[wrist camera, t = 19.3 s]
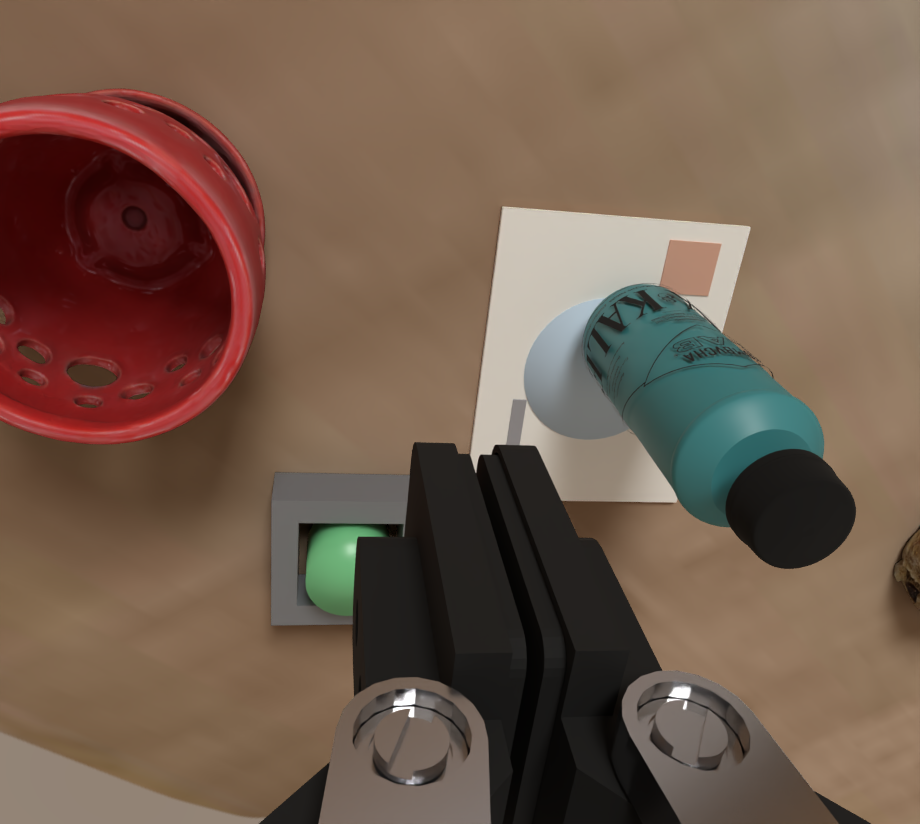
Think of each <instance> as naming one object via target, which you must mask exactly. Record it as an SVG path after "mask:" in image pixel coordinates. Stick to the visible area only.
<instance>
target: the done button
mask: <svg viewBox="0 0 920 824" xmlns="http://www.w3.org/2000/svg"><path fill="white" fill-rule="evenodd" d="M358 537H389V533H388V530H387V527H386V525H385V524H348V523H314V524H313V525H312V527H311V529H310V531H309V535H308V542H307V562H306V590H307V593H308V595H309V597H310V599H311V600H312V601H313V603H314V604H315V605H317V606H318V607H319V608H321V609H322V610H324V611H326V612H329V613H331V614H335V615H341V616H353V592H354V574H355V558H356V545H357V538H358Z"/></svg>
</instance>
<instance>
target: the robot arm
mask: <svg viewBox="0 0 920 824" xmlns="http://www.w3.org/2000/svg"><path fill="white" fill-rule="evenodd" d="M353 676H354V698H353V699H352V700H351V701H350V702H349V704H348V705H347V706H346V707H345V708H344V709H343V712H342V714H341V717H340V719H339V722H338V724H337V727H336V732H335V737H334V743H333V748H332V754H331V759H330V762H329V763H328V764H327V765H326V766H325V767H324V768H322V769H321V770H320V771H319V772H318V773H317V774H316V775H314V776H313V777H312V778H311V779H310V780H309V781H307V782H306V783H305V784H304V785H303V786H302V787H301V788H299V789H298V790H297V791H296V792H295V793H294V794H293V795H291V796H290V797H289V798H288V799H287V800H286V801H284V802H283V803H282V804H281V805H280V806H279V807H278V808H276V809H275V810H274V811H273V812H272V813H271V814H270V815H268V816H267V817H266V818H265V819H264V820H263V821H261V822H260V823H259V824H871V823H869V822H867V821H866V820H864V819H862V818H860V817H859V816H857V815H855V814H853V813H852V812H850V811H848V810H846V809H845V808H843V807H841V806H839V805H838V804H836V803H834V802H832V801H831V800H829V799H827V798H825V797H824V796H822V795H820V794H818V793H817V792H815V791H813V790H812V788H811V787H810V786H809V784H808V783H807V782H806V780H805V779H804V778H803V777H802V775H801V774H800V773H799V771H798V770H797V769H796V768H795V766H794V765H793V764H792V762H791V761H790V760H789V759H788V757H787V756H786V755H785V753H784V752H783V751H782V749H781V748H780V747H779V746H778V744H777V743H776V742H775V740H774V739H773V738H772V737H771V735H770V734H769V733H768V731H767V730H766V729H765V727H764V726H763V725H762V724H761V722H760V721H759V720H758V718H757V717H756V716H755V715H754V713H753V712H752V711H751V710H750V709H749V708H748V707H747V706H746V705H745V704H744V703H743V702H742V701H741V700H740V699H739V698H738V697H737V696H736V695H734V694H733V693H731V692H730V691H728V690H727V689H725V688H724V687H722V686H721V685H719V684H717V683H715V682H713V681H710V680H708V679H706V678H703V677H701V676H699V675H695V674H690V673H685V672H680V671H662V669H661V667H660V665H659V663H658V661H657V659H656V657H655V655H654V653H653V651H652V649H651V647H650V645H649V643H648V641H647V639H646V637H645V635H644V633H643V631H642V629H641V627H640V625H639V623H638V621H637V619H636V616H635V614H634V612H633V610H632V608H631V606H630V604H629V602H628V600H627V598H626V596H625V594H624V592H623V590H622V588H621V586H620V584H619V582H618V580H617V578H616V576H615V574H614V572H613V570H612V568H611V566H610V564H609V562H608V560H607V558H606V556H605V554H604V552H603V550H602V548H601V546H600V545H599V543H598V542H597V540H595V539H593V538H578V536H577V534H576V531H575V529H574V527H573V525H572V523H571V520H570V518H569V516H568V514H567V512H566V510H565V507H564V505H563V503H562V501H561V499H560V497H559V494H558V492H557V490H556V488H555V486H554V484H553V481H552V479H551V477H550V475H549V473H548V470H547V468H546V466H545V464H544V462H543V460H542V457H541V455H540V453H539V451H538V449H537V447H536V446H532V445H495V446H494V448H493V450H492V454H491V455H484V454H481V455H480V456H479V459H478V463H477V470H476V472H475V469H474V466H473V462H472V459H471V456H470V454H458V452H457V448H456V446H455V444H454V443H420V442H415V443H414V445H413V449H412V457H411V468H410V478H409V489H408V500H407V511H406V521H405V532H404V537H358V538H357V545H356V558H355V574H354V592H353Z"/></svg>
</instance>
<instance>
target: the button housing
mask: <svg viewBox="0 0 920 824" xmlns="http://www.w3.org/2000/svg"><path fill="white" fill-rule="evenodd" d="M409 478H410V475H379V474H327V473H276V472H275V477H274V485H273V493H272V516H271V625H343V624H353V616H341V615H335V614H331V613H329V612H326V611H324V610H322V609H321V608H319V607H318V606H317V605H315V604H314V603H313V601H312V600H311V599H310V597H309V595H308V593H307V590H306V574H299V541H300V523H348V524H398V525H397V536H396V537H404V532H405V521H406V511H407V500H408V489H409Z"/></svg>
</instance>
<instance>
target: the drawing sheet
mask: <svg viewBox="0 0 920 824" xmlns="http://www.w3.org/2000/svg"><path fill="white" fill-rule="evenodd" d="M750 228H751V227H749V226H740V225H727V224H715V223H702V222H690V221H677V220H665V219H652V218H640V217H628V216H615V215H603V214H590V213H578V212H565V211H553V210H540V209H528V208H515V207H503V206H502V208H501V216H500V224H499V232H498V239H497V247H496V255H495V262H494V270H493V278H492V285H491V293H490V301H489V308H488V316H487V324H486V332H485V339H484V347H483V355H482V362H481V370H480V378H479V385H478V393H477V401H476V408H475V416H474V424H473V432H472V439H471V447H470V456H471V459H472V462H473V466H474V469H475V472H476V470H477V463H478V459H479V456H480V455H481V454H484V455H491V454H492V450H493V448H494V446H495V445H532V446H536V447H537V449H538V451H539V453H540V455H541V457H542V460H543V462H544V464H545V466H546V468H547V470H548V473H549V475H550V477H551V479H552V481H553V484H554V486H555V488H556V490H557V492H558V494H559V497H560V499H561V501H609V502H676V501H677V496H676V494H675V492H674V490H673V488H672V487H671V485H670V484H669V483H668V481H667V480H666V478H665V477H664V475H663V474H662V472H661V471H660V470H659V468H658V467H657V465H656V464H655V462H654V461H653V459H652V458H651V456H650V455H649V454H648V452H647V451H646V449H645V448H644V446H643V445H642V443H641V442H640V441H639V439H638V438H637V436H636V435H634V434H635V433H634V432H633V431H632V430H631V429H630V428H629V427H628V425H627V423H626V422H625V421H624V420H623V421H624V422H625V423H624V422H622V416H621V415H618V414H619V412H618V410H617V409H615V408H616V407H615V406H614V404H613V403H611V402H612V401H611V402H610V398H608V396H607V395H606V392H605V395H604V393H603V391H604V389H603V391H602V390H601V389H602V388H601V387H602V386H601V385H600V383H599V382H598V380H596V378H595V377H594V374H593V373H592V371H591V370H590V368H588V367H589V366H588V365H587V362H585V361H586V360H585V359H584V358H585V357H584V350H583V343H582V340H583V338H584V337H583V335H584V331H585V328H586V325H587V322H588V320H589V318H590V316H591V314H592V313H593V311H594V310H595V308H596V307H597V306H598V305H599V304H600V303H601V302H602V301H603V300H604V299H605V298H606V297H608V296H609V295H610V294H612V293H613V292H615V291H617V290H619V289H621V288H624V287H627V286H630V285H635V284H642V283H655V284H651V285H656V286H661V287H665V288H666V289H668V288H669V289H668V290H670V291H672V292H675V293H676V294H677V295H679V296H680V297H682V298H683V299H685V300H686V299H687V300H688V301H690V302H691V304H692V305H694V306H695V307H696V308H697V309H698V310H700V311H701V313H702V314H703V313H704V314H705V315H706V317H707V318H708V317H709V318H708V319H709V320H711V322H713V323H715V324H716V325H715V324H714V325H715V326H716V327H717V328H718V329H719V330H720V331H721V333H722V331H723V328H724V324H725V320H726V317H727V313H728V309H729V306H730V302H731V298H732V295H733V291H734V287H735V283H736V280H737V276H738V272H739V269H740V265H741V261H742V258H743V254H744V250H745V247H746V243H747V239H748V235H749V232H750ZM659 284H661V285H659ZM673 290H674V291H673ZM677 292H678V293H677ZM679 293H680V294H679ZM683 296H684V297H685V298H684V297H683ZM687 300H686V301H687ZM686 301H685V302H686ZM686 303H687V302H686ZM687 304H688V305H689V303H687ZM692 305H691V307H692V308H693V309H694V307H693V306H692ZM696 308H695V309H694V310H696ZM698 310H696V312H698V313H699V314H700V315H701V316H702V317H703V318H704V316H703V315H704V314H703V315H702V314H701V313H700V312H699V311H698ZM705 319H706V318H705ZM706 320H707V319H706ZM707 321H708V320H707ZM708 322H709V321H708ZM709 323H710V322H709ZM710 324H711V323H710ZM582 354H583V355H582ZM584 363H585V364H584ZM587 370H588V371H587ZM589 370H590V372H591V373H590V372H589ZM591 374H592V375H591ZM592 377H593V378H592ZM597 382H598V383H597ZM613 406H614V407H615V408H614V407H613ZM620 416H621V417H620ZM620 420H621V421H620ZM622 423H623V424H622ZM630 432H631V433H630ZM632 433H633V434H632Z"/></svg>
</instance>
